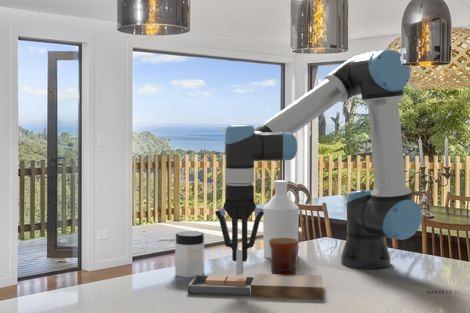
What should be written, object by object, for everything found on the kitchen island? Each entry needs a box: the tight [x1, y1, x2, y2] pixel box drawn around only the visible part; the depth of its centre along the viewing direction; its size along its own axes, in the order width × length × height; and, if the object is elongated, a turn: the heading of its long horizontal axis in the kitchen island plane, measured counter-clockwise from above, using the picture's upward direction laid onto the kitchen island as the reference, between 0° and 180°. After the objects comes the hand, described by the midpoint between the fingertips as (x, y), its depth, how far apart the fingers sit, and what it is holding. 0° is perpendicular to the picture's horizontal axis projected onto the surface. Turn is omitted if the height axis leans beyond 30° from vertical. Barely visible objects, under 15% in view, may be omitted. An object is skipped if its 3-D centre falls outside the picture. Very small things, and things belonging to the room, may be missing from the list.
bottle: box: [262, 179, 300, 260], centre depth 199 cm, size 12×12×25 cm
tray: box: [187, 274, 254, 297], centre depth 159 cm, size 16×11×2 cm
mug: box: [269, 238, 300, 275], centre depth 174 cm, size 12×9×10 cm
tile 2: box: [226, 275, 248, 287], centre depth 158 cm, size 5×5×2 cm
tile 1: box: [205, 274, 228, 286], centre depth 159 cm, size 5×5×2 cm
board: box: [250, 273, 324, 300], centre depth 156 cm, size 18×12×3 cm, turn 83°
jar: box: [174, 230, 205, 279], centre depth 175 cm, size 9×8×12 cm
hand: (239, 273), depth 158 cm, fingers closed
